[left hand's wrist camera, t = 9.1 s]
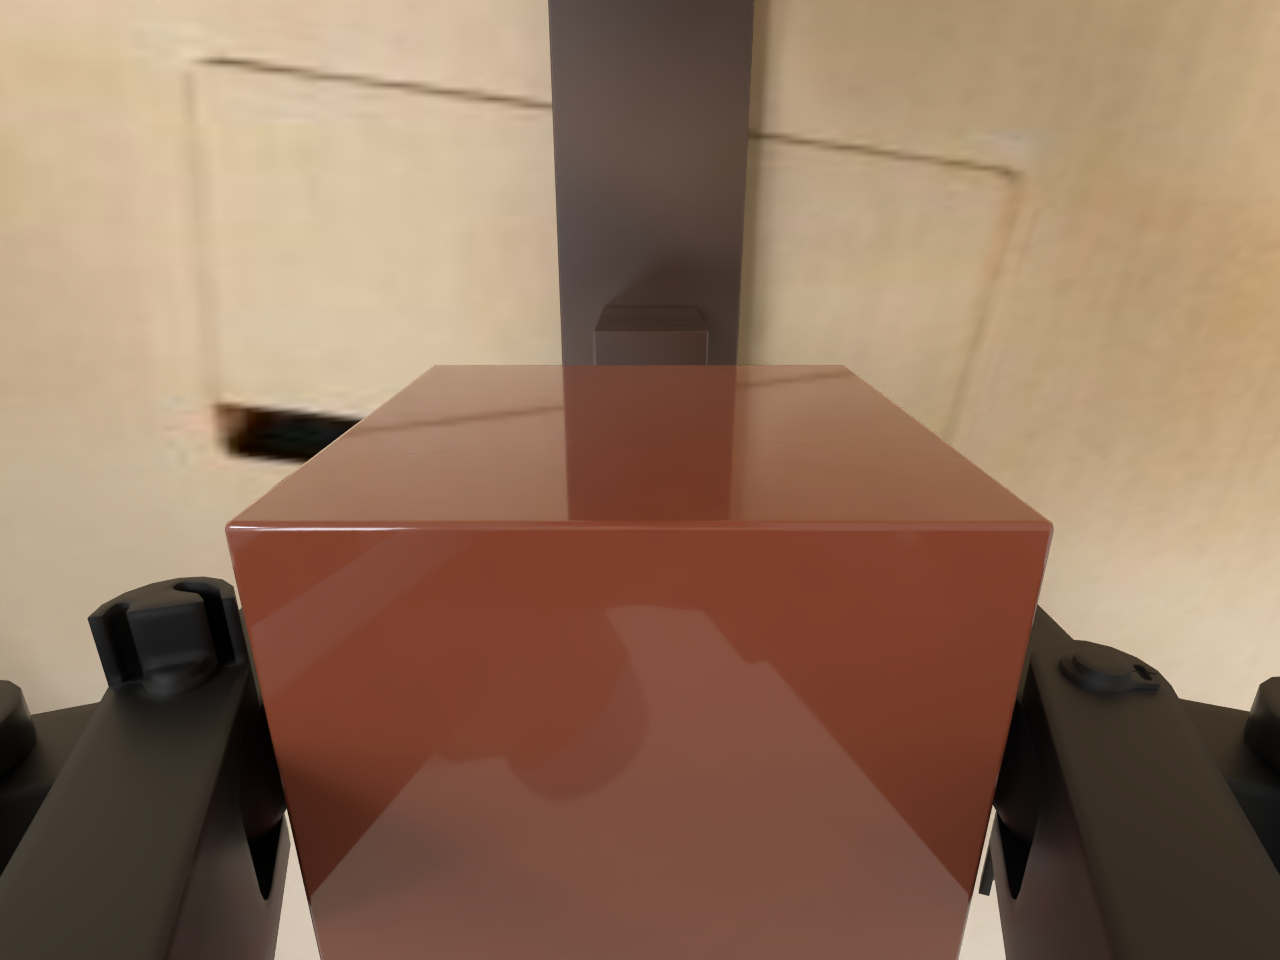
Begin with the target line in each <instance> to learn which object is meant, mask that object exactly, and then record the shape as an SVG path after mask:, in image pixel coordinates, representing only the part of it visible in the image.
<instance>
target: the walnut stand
mask: <svg viewBox="0 0 1280 960" xmlns="http://www.w3.org/2000/svg"><path fill="white" fill-rule="evenodd" d="M548 6H549V32H550V57H551V83H552V109H553V134H554V160H555V185H556V211H557V237H558V262H559V288H560V314H561V339H562V365H737V350H738V329H739V308H740V288H741V267H742V246H743V225H744V204H745V184H746V163H747V142H748V121H749V101H750V80H751V59H752V38H753V17H754V0H548Z"/></svg>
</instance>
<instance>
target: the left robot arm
mask: <svg viewBox="0 0 1280 960" xmlns="http://www.w3.org/2000/svg"><path fill="white" fill-rule="evenodd" d="M88 621H89V624H90V628H91V631H92V634H93V637H94V641H95V644H96V647H97V650H98V653H99V657H100V660H101V663H102V666H103V669H104V673H105V676H106V679H107V682H108V685H109V687H108V689H107V691H106V693H105V694H104V696H103V698H102V700H101V701H100V702H98V703H93V704H88V705H82V706H77V707H72V708H66V709H61V710H56V711H50V712H45V713H39V714H34V715H30V712H29V710H28V707H27V704H26V701H25V699H24V696H23V693H22V690H21V688H20V687H18V686H16V685H15V684H13V683H12V682H10V681H5V680H0V960H274V956H275V949H276V942H277V935H278V928H279V921H280V914H281V907H282V900H283V893H284V886H285V879H286V872H287V865H288V858H289V851H290V839H289V832H288V827H287V822H286V818H285V813H284V812H285V810H286V809H287V806H286V802H285V798H284V793H283V789H282V784H281V780H280V775H279V771H278V766H277V762H276V757H275V753H274V748H273V744H272V739H271V735H270V730H269V726H268V721H267V717H266V713H265V708H264V704H263V699H262V695H261V690H260V686H259V681H258V677H257V672H256V668H255V663H254V659H253V654H252V650H251V645H250V641H249V636H248V632H247V628H246V623H245V619H244V614H243V610H242V608H241V609H240V610H239V609H238V605H237V600H236V596H235V592H234V587H233V586H232V585H230V584H229V583H227V582H226V581H224V580H222V579H216V578H209V577H189V578H177V579H172V580H167V581H162V582H157V583H152V584H149V585H146V586H143V587H140V588H138V589H135V590H132V591H129V592H126V593H124V594H122V595H120V596H118V597H116V598H114V599H112V600H110V601H109V602H107V603H105V604H103V605H101V606H100V607H99V608H98V609H97V610H96V611H95V612H94V613H93V614H91V615H90V616H89V617H88ZM993 806H994V807H995V809H996V813H995V818H994V822H993V827H992V831H991V836H990V840H989V845H988V849H987V853H986V858H985V862H984V867H983V871H982V876H981V881H980V888H979V893H980V894H983V895H987V896H989V894H990V890H991V886H992V881H993V880H994V879H995V884H996V891H997V898H998V905H999V912H1000V919H1001V926H1002V933H1003V940H1004V947H1005V954H1006V960H1280V677H1271V678H1270V679H1268V680H1266V681H1265V682H1263V683H1261V684H1260V686H1259V688H1258V691H1257V694H1256V697H1255V699H1254V702H1253V705H1252V708H1251V710H1250V712H1248V711H1243V710H1238V709H1232V708H1227V707H1221V706H1216V705H1211V704H1205V703H1200V702H1194V701H1189V700H1184V699H1180V698H1178V696H1177V695H1176V693H1175V691H1174V689H1173V688H1172V686H1171V685H1170V684H1169V683H1168V681H1167V680H1166V679H1165V678H1164V677H1163V676H1162V675H1161V674H1160V673H1159V672H1158V671H1157V670H1156V669H1154V668H1152V667H1151V666H1149V665H1148V664H1146V663H1145V662H1143V661H1141V660H1140V659H1138V658H1137V657H1134V656H1132V655H1129V654H1127V653H1125V652H1122V651H1120V650H1117V649H1115V648H1112V647H1109V646H1105V645H1101V644H1096V643H1092V642H1088V641H1081V640H1073V639H1072V638H1071V637H1070V636H1069V635H1068V634H1067V633H1066V632H1065V631H1064V630H1063V629H1062V628H1061V627H1060V626H1059V625H1058V624H1057V623H1056V622H1055V621H1054V620H1053V619H1052V618H1051V617H1050V616H1049V615H1048V614H1047V613H1046V612H1045V611H1044V610H1043V609H1042V608H1041V607H1040V606H1039V605H1038V604H1037V608H1036V612H1035V617H1034V621H1033V626H1032V630H1031V634H1030V639H1029V643H1028V648H1027V652H1026V657H1025V661H1024V666H1023V670H1022V675H1021V679H1020V684H1019V688H1018V693H1017V697H1016V702H1015V706H1014V711H1013V715H1012V720H1011V724H1010V729H1009V733H1008V738H1007V742H1006V747H1005V751H1004V756H1003V760H1002V765H1001V769H1000V774H999V778H998V783H997V787H996V792H995V796H994V801H993Z"/></svg>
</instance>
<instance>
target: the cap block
mask: <svg viewBox="0 0 1280 960" xmlns="http://www.w3.org/2000/svg"><path fill="white" fill-rule="evenodd" d="M1053 531H1054V529H1053V524H1052V522H1051V521H1050V520H1048V519H1047V518H1046V517H1044V516H1043V515H1042V514H1040V513H1039V512H1038V511H1036V510H1035V509H1034V508H1032V507H1031V506H1030V505H1028V504H1027V503H1026V502H1025V501H1023V500H1022V499H1021V498H1019V497H1018V496H1017V495H1015V494H1014V493H1013V492H1011V491H1010V490H1009V489H1007V488H1006V487H1005V486H1003V485H1002V484H1001V483H999V482H998V481H997V480H995V479H994V478H993V477H991V476H990V475H989V474H988V473H986V472H985V471H984V470H982V469H981V468H980V467H978V466H977V465H976V464H974V463H973V462H972V461H970V460H969V459H968V458H966V457H965V456H964V455H962V454H961V453H960V452H958V451H957V450H956V449H955V448H953V447H952V446H951V445H949V444H948V443H947V442H945V441H944V440H943V439H941V438H940V437H939V436H937V435H936V434H935V433H933V432H932V431H931V430H929V429H928V428H927V427H925V426H924V425H923V424H921V423H920V422H919V421H918V420H916V419H915V418H914V417H912V416H911V415H910V414H908V413H907V412H906V411H904V410H903V409H902V408H900V407H899V406H898V405H896V404H895V403H894V402H892V401H891V400H890V399H888V398H887V397H886V396H885V395H883V394H882V393H881V392H879V391H878V390H877V389H875V388H874V387H873V386H871V385H870V384H869V383H867V382H866V381H865V380H863V379H862V378H861V377H859V376H858V375H857V374H855V373H854V372H853V371H852V370H850V369H849V368H848V367H846V366H844V365H435V366H433V367H431V368H430V369H428V370H427V371H426V372H425V373H423V374H422V375H421V376H419V377H418V378H417V379H415V380H414V381H413V382H411V383H410V384H409V385H407V386H406V387H405V388H403V389H402V390H401V391H399V392H398V393H397V394H396V395H394V396H393V397H392V398H390V399H389V400H388V401H386V402H385V403H384V404H382V405H381V406H380V407H378V408H377V409H376V410H374V411H373V412H372V413H371V414H369V415H368V416H367V417H365V418H364V419H363V420H361V421H360V422H359V423H357V424H356V425H355V426H353V427H352V428H351V429H349V430H348V431H347V432H345V433H344V434H343V435H342V436H340V437H339V438H338V439H336V440H335V441H334V442H332V443H331V444H330V445H328V446H327V447H326V448H324V449H323V450H322V451H320V452H319V453H318V454H316V455H315V456H314V457H313V458H311V459H310V460H309V461H307V462H306V463H305V464H303V465H302V466H301V467H299V468H298V469H297V470H295V471H294V472H293V473H291V474H290V475H289V476H287V477H286V478H285V479H284V480H282V481H281V482H280V483H278V484H277V485H276V486H274V487H273V488H272V489H270V490H269V491H268V492H266V493H265V494H264V495H262V496H261V497H260V498H258V499H257V500H256V501H255V502H253V503H252V504H251V505H249V506H248V507H247V508H245V509H244V510H243V511H241V512H240V513H239V514H237V515H236V516H235V517H233V518H232V519H231V520H229V521H228V522H227V524H226V527H225V534H226V538H227V543H228V547H229V551H230V556H231V560H232V565H233V569H234V574H235V578H236V583H237V587H238V592H239V596H240V601H241V605H242V610H243V614H244V619H245V623H246V628H247V632H248V636H249V641H250V645H251V650H252V654H253V659H254V663H255V668H256V672H257V677H258V681H259V686H260V690H261V695H262V699H263V704H264V708H265V713H266V717H267V721H268V726H269V730H270V735H271V739H272V744H273V748H274V753H275V757H276V762H277V766H278V771H279V775H280V780H281V784H282V789H283V793H284V798H285V802H286V806H287V811H288V815H289V820H290V824H291V829H292V833H293V838H294V842H295V847H296V851H297V856H298V860H299V865H300V869H301V874H302V878H303V883H304V887H305V891H306V896H307V900H308V905H309V909H310V914H311V918H312V923H313V927H314V932H315V936H316V941H317V945H318V950H319V954H320V959H321V960H958V958H959V953H960V949H961V944H962V940H963V935H964V931H965V926H966V922H967V917H968V913H969V908H970V904H971V899H972V895H973V891H974V886H975V882H976V877H977V873H978V868H979V864H980V859H981V855H982V850H983V846H984V841H985V837H986V832H987V828H988V823H989V819H990V814H991V810H992V805H993V801H994V796H995V792H996V787H997V783H998V778H999V774H1000V769H1001V765H1002V760H1003V756H1004V751H1005V747H1006V742H1007V738H1008V733H1009V729H1010V724H1011V720H1012V715H1013V711H1014V706H1015V702H1016V697H1017V693H1018V688H1019V684H1020V679H1021V675H1022V670H1023V666H1024V661H1025V657H1026V652H1027V648H1028V643H1029V639H1030V634H1031V630H1032V626H1033V621H1034V617H1035V612H1036V608H1037V603H1038V599H1039V594H1040V590H1041V585H1042V581H1043V576H1044V572H1045V567H1046V563H1047V558H1048V554H1049V549H1050V545H1051V540H1052V536H1053Z"/></svg>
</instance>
